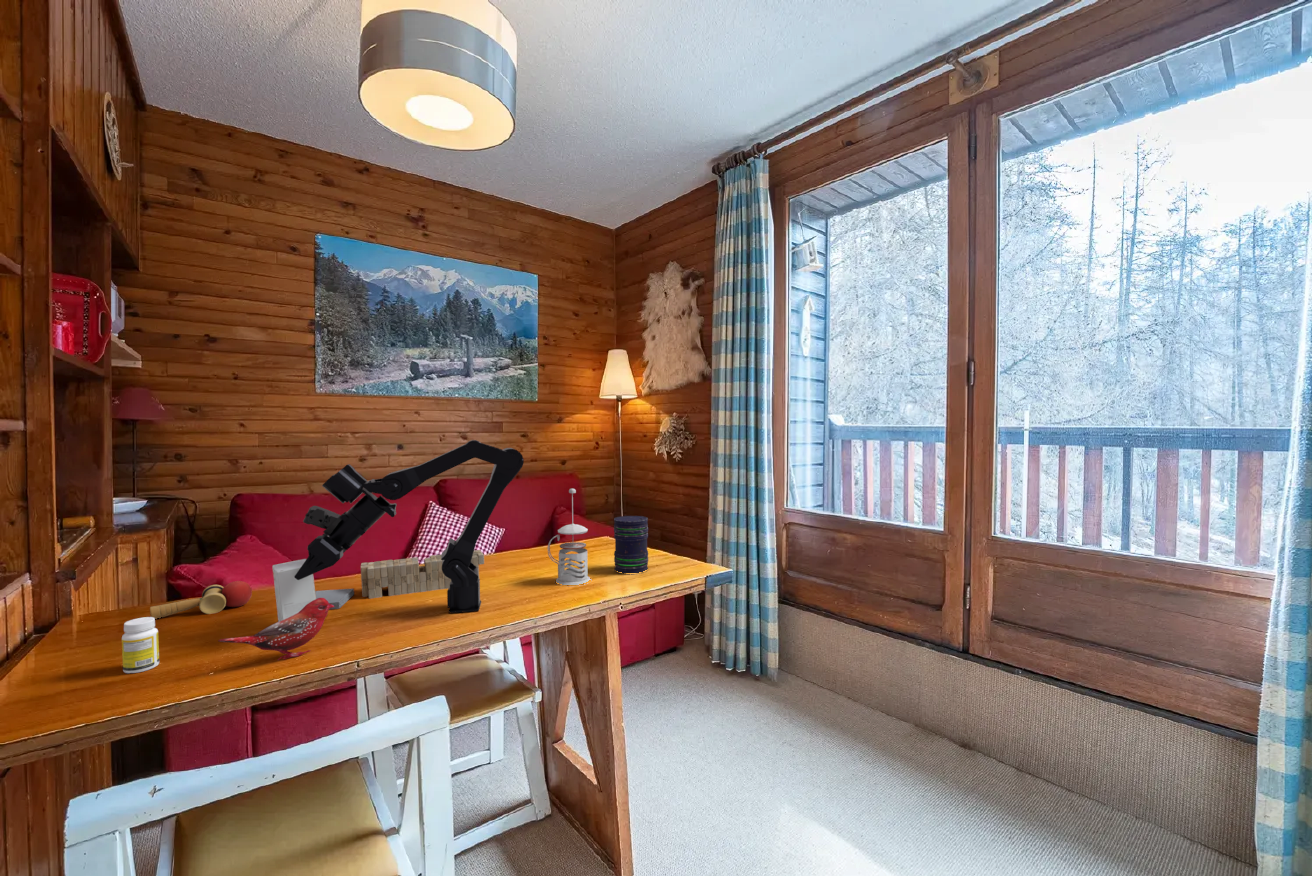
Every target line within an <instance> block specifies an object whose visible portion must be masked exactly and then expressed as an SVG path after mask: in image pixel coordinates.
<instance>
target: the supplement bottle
mask: <svg viewBox="0 0 1312 876" xmlns="http://www.w3.org/2000/svg"><path fill="white" fill-rule="evenodd" d="M123 632H124V634H122V637H121V652H122V653H121V654H122V655H121V656H122V657H121V658H122V671H123V673H125V674H135V673H136V674H137V673H141V672H142V673H143V672H146V671H149V670H152V669H154V668H155V667H157V666H158V665H159V664H160V648H159V647H160V646H159V645H160V643H159V630H158V628H156V620H155V618H153V617H151V616H146V617H139V618H133V619H130V620H127V621H125V622H124V624H123Z"/></svg>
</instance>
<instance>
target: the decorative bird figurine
mask: <svg viewBox="0 0 1312 876" xmlns="http://www.w3.org/2000/svg"><path fill="white" fill-rule="evenodd" d="M332 607H334V606H333V605H331V604H329V603H328V601H327V600H326V599H325V598H317V599H315V600H313V601H312V602H310V603H308V604H307V605H306V606H305V607H304V608H303V609H302V610H301V611H299V612H298V613H296V614H295V615H293V616H291V617H289V618H286V619H284V620H282V621H279V622H278V621H277V622H275V623H273V624H271V625H269V626H267V627H265V628H264V629H262V630H260V631H258V632H257V633H255V634H254V635H250V636H249V635H248V636H240V637H230V638H220V639H218V640H217V641H218V642H220V643H234V644H247V645H251V646H253V647H256V648H258V649H260V650H263V651H274V652H279V653H281V654H285V655H282V656H280V657H279V658H278V659H277V661H279V660H281V659H282V660H285V659H286V660H287V659H290V658H293V657H295V658H297V657H300V656H302V655H304V654H306V653H309V652H311V650H309V649H308V650H306V651H298V652H292V651H291V650H295V649H297V648H300V647H302V646H304V645H306V644H308V643H309V642H310V641H312V639H314V638H315V637H316V636H317V635H318V633H319V632H320V631H321V629H322V627H323V625H324V622H325V620H326V617H328V613H329V610H331V609H330V608H332Z"/></svg>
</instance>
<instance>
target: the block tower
mask: <svg viewBox="0 0 1312 876" xmlns="http://www.w3.org/2000/svg"><path fill="white" fill-rule="evenodd" d="M441 556H442V553H441V554H432V555H430V556H429V557H426V558H424V559H423V562H424V563H423V564H424V565H420V563H419V558H418V557H417V556H416V557H408V558H400V559H394V560H393V559H387V560H386V559H385V560H381V561H380V560H377V561H374V562H373V561H371V562H361V564H360V579H361V593H362V594H361V595H362V596H361V597H365V598H366V597H368V599H376V598H383V588H387V590H388V597H394V596H401V595H407V594H415V593H424V592H432V591H439V590H446V589H447V590H448V588H449V587H450V583H451V579H450V578H448V577H446V576H445V575H444V574H443V571H442V560H441ZM471 562H472V563H473V564H474V565H475V566H476V567H477V568H478V576H479V577H478V579H480V566H481V565H484V564H485V555H484V553H483V552H482V551H481V549H478V550H477V549H474V552H473V556H472V559H471Z"/></svg>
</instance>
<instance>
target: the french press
mask: <svg viewBox="0 0 1312 876" xmlns="http://www.w3.org/2000/svg"><path fill="white" fill-rule="evenodd" d="M568 493H569V494H571V516H572V519H571V520H572V523H570V524H566V525H563V526H562V527H560V528H559V529H557V533H558V534H556V535H555V536H553V537H552V538H551V539H550V540H549V542H548V544H547V555H548V557H549V559H550V560H551V562H554V563H555V564H557V576H558V577H557V578H556V579H555V580H556V582H557V583H559V584H562V585H579V584H583V583H586V582H588V581H589V580H591V581H592V578H591V577H590V576H588V575H589V574H588V573H589V572H588V549H586V547H587V543H586V542H585V543H584V542H581V541H578V542H575V541H570V542H565V543H561V544H559V548H561V549H560V550H558V560H557V559H555V558H554V557H553V555H552V554H551V543H552V541H553V540H554V539H555V538H557V541H558V542H559V541H560V540H561V537H560V536H561V535H572V538H571V539H574V535H583V534H586V533H588V530H589V529H588V528H586V527H585V526H583V525H581V524H575V523H574V497H573V496H574V494H576V493H577V490H576V489H575V488H569V490H568ZM560 534H561V535H560ZM569 552H574V553H569ZM574 566H576V567H574ZM590 578H591V579H590ZM562 585H561V586H562ZM579 586H580V585H579Z"/></svg>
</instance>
